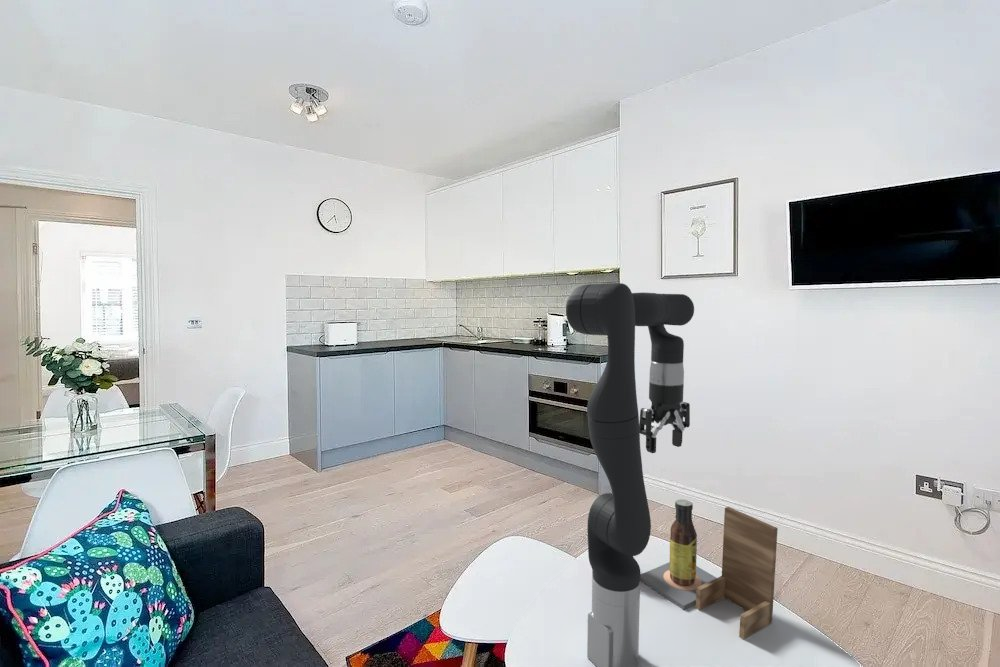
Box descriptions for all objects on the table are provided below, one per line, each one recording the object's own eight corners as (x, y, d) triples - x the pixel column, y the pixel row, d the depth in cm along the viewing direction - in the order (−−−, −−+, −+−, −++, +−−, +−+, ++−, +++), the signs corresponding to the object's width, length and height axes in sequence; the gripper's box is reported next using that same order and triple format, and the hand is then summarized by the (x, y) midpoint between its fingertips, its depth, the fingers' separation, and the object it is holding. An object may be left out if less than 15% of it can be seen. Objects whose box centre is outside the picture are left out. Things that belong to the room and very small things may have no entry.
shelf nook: (743, 639, 107) (748, 540, 104) (695, 607, 117) (699, 517, 115) (772, 622, 112) (777, 528, 110) (723, 593, 122) (728, 506, 120)
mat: (683, 609, 117) (683, 605, 116) (638, 578, 129) (638, 574, 128) (727, 587, 125) (727, 583, 124) (681, 560, 137) (681, 556, 136)
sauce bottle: (697, 588, 122) (700, 510, 120) (670, 585, 124) (672, 508, 122) (693, 573, 129) (695, 498, 127) (667, 570, 130) (669, 496, 128)
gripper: (657, 387, 110) (655, 459, 112) (700, 380, 117) (698, 448, 119) (631, 381, 116) (630, 449, 118) (674, 374, 124) (672, 439, 125)
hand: (664, 448), depth 119 cm, fingers open, 8 cm apart
